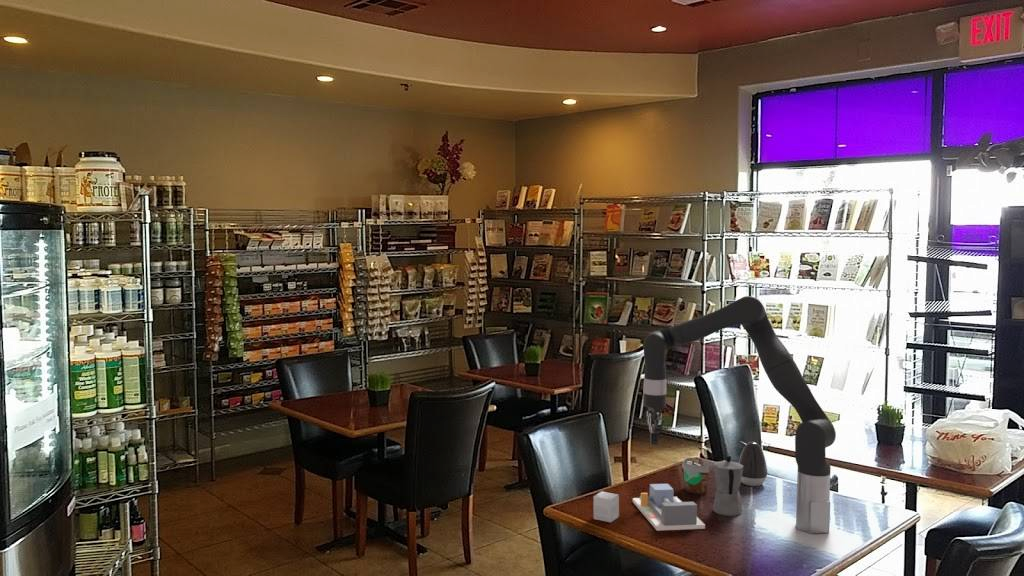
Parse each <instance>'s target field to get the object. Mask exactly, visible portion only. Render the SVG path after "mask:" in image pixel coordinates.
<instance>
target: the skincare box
mask: <svg viewBox="0 0 1024 576" xmlns="http://www.w3.org/2000/svg"><path fill="white" fill-rule="evenodd" d="M619 517H620V495H619V493H618V494H617V493H611V492H606V491H602V490H601V491H600V492H598V493H597V494H595V495H593V519H594V520H597V521H601V522H607V523H612V522H614V521H615V520H616V519H619Z"/></svg>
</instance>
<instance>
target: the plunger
mask: <svg viewBox="0 0 1024 576" xmlns="http://www.w3.org/2000/svg"><path fill="white" fill-rule="evenodd" d="M674 492H675V491H674V488H673V487H672V486H671V485H670V484H669V483H649V495H648V499H650V500H651V501H652V502H653V503H654V504H655V505H656V506H657V507H662V503H670V502H673V497H675V496H674ZM638 498H639V499H640V500H641V496H639V497H638Z"/></svg>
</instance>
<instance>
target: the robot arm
mask: <svg viewBox="0 0 1024 576" xmlns="http://www.w3.org/2000/svg"><path fill="white" fill-rule="evenodd" d="M738 325H739V326H740V325H741V326H742V328H744V330H745V333H747V335H748V336H749V338H750V339H751V341H752V342H753V344H754V347H755V349H756V353H757V356H758V358H759V360H760V363H761V365H762V367H763V370H764V372H765V373H766V376H767V377H768V379H769V382H770V383H771V385H772V386H773V388H774V389H775V390H776V391H777V392H778V393H779V394H780V396H782V397H783V398H784V399H785V401H787V402H788V403H789V405H791V406H792V407H793V408H794V410H795V411H796V413H797V414H798V416H799V418H800V420H801V423H799V424H798V426H797V428H796V430H795V437H794V448H795V450H794V452H795V454H794V456H795V462H796V465H797V478H796V479H797V482H796V508H795V509H796V513H795V515H796V516H795V527H796V528H797V529H799V530H800V531H804V532H807V533H808V534H828V533H830V525H831V524H830V523H831V521H830V520H831V501H830V494H831V493H830V491H831V490H830V489H831V464H830V463H829V462H828V461H827V459H826V449H827V448H828V447H831V446H832V445H833V444H834V443H835V440H836V437H837V433H836V429H835V427H834V425H833V423H832V421H831V419H830V418H829V417H828V415H827V414H826V413H825V411H824V410H823V408H822V407H821V405H820V404H819V402H818V401H817V400H816V398H815V396H814V395H813V392H812V391H811V388H810V387H809V386H808V384H807V382H806V380H805V379H804V377H803V375H802V373H801V371H800V369H799V367H798V365H797V364H796V362H795V360H794V358H793V356H792V355H791V354H790V352H789V350H788V349H787V348H786V346H785V345H784V343H783V342H782V341H781V339H780V338H779V337H778V335H777V334H776V332H775V330H774V328H773V326H772V324H771V321H770V320H769V317H768V315H767V311H766V308H765V306H764V304H763V303H762V302H761V301H760V299H758V298H757V297H756V296H751V295H747V296H746V295H745V296H742V297H741V298H739V299H737V300H735V301H733V302H731V303H729V304H728V305H726V306H723V307H721V308H719V309H717V310H715V311H712V312H709V313H707V314H704V315H701V316H699V317H698V316H697V317H694V318H692V319H689V320H686V321H682V322H679V323H677V324H675V325H673V326H670V327H665V328H661V329H658V330H654V331H651V332H650V333H649V334H647V335H646V336H645V338H644V341H643V357H644V359H643V360H644V378H643V379H644V380H643V387H642V388H643V390H642V391H643V395H642V397H643V398H642V400H643V401H642V405H643V406H644V407H646V408H647V410H646V412H645V419H646V424H647V429H648V430H649V432H650V433H649V442H650V444H651V445H657V444H659V443H658V442H659V433H661V432H662V428H663V425H664V422H665V420H664V419H663V418H662V416H663V413H662V408H665V407H666V406H667V366H666V365H667V364H666V362H665V357H666V350H668V349H671V348H674V347H677V346H684V345H687V344H690V343H693V342H696V341H700V340H702V339H705V338H706V337H708V336H711V335H712V334H714V333H716V332H719V331H721V330H723V329H727V328H730V327H734V326H738Z"/></svg>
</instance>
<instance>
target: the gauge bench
mask: <svg viewBox="0 0 1024 576" xmlns="http://www.w3.org/2000/svg"><path fill="white" fill-rule="evenodd" d="M632 503H633V504H634V506H636V508H637V509H638V510H639V511H640V512H641V514H642V515H643V516H644V517H645V518H646V519H647V522H649V523H650V525H651V526H652V527H653V528H654V530H655V531H658V532H659V531H681V530H702V529H703V530H706V524H705V523H704V522H703V521H702V520H701V519H700V518H699V517H698V514H697V513H698V504H697V503H695V502H694V501H682V500H681V499H680V498H678V496H673V502H670V503H662V507H657V506H656V505H655V504H654V503H653V502H652V501H651V500H650V499H648V506H641V500H640V499H639V497H632Z"/></svg>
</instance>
